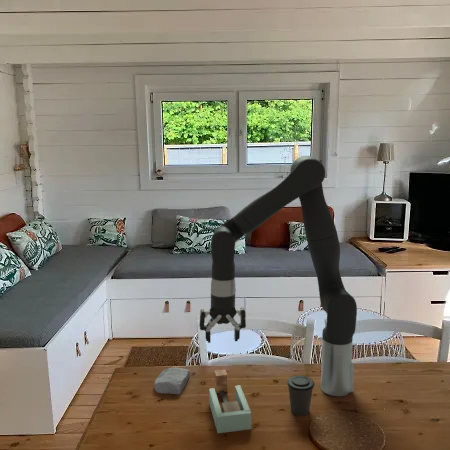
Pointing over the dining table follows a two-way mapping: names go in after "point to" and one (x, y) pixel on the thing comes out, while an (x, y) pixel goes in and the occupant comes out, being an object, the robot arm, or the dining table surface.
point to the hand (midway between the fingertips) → (222, 341)
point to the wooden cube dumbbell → (222, 388)
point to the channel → (230, 413)
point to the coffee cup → (300, 394)
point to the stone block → (172, 380)
